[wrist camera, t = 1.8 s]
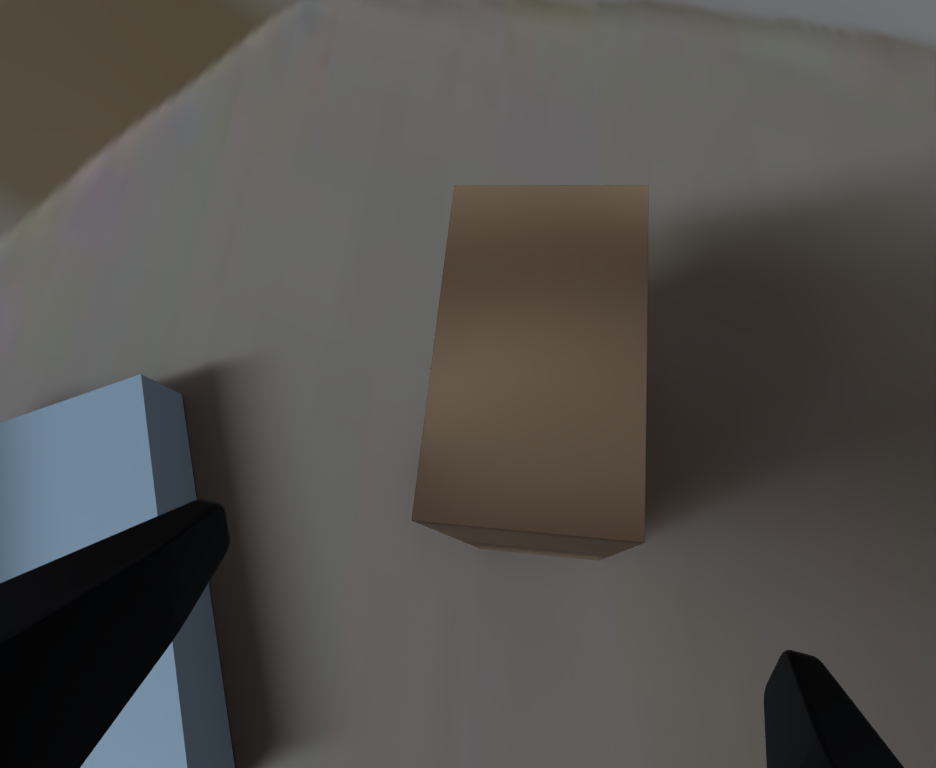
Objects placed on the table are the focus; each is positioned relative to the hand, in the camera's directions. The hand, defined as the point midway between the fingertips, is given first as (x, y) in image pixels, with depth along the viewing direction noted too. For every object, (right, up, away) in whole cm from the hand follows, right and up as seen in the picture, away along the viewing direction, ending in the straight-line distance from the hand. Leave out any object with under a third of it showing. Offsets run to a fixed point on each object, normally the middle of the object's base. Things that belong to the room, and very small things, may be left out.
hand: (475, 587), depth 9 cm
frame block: (+3, +1, +12) cm, 12 cm away
